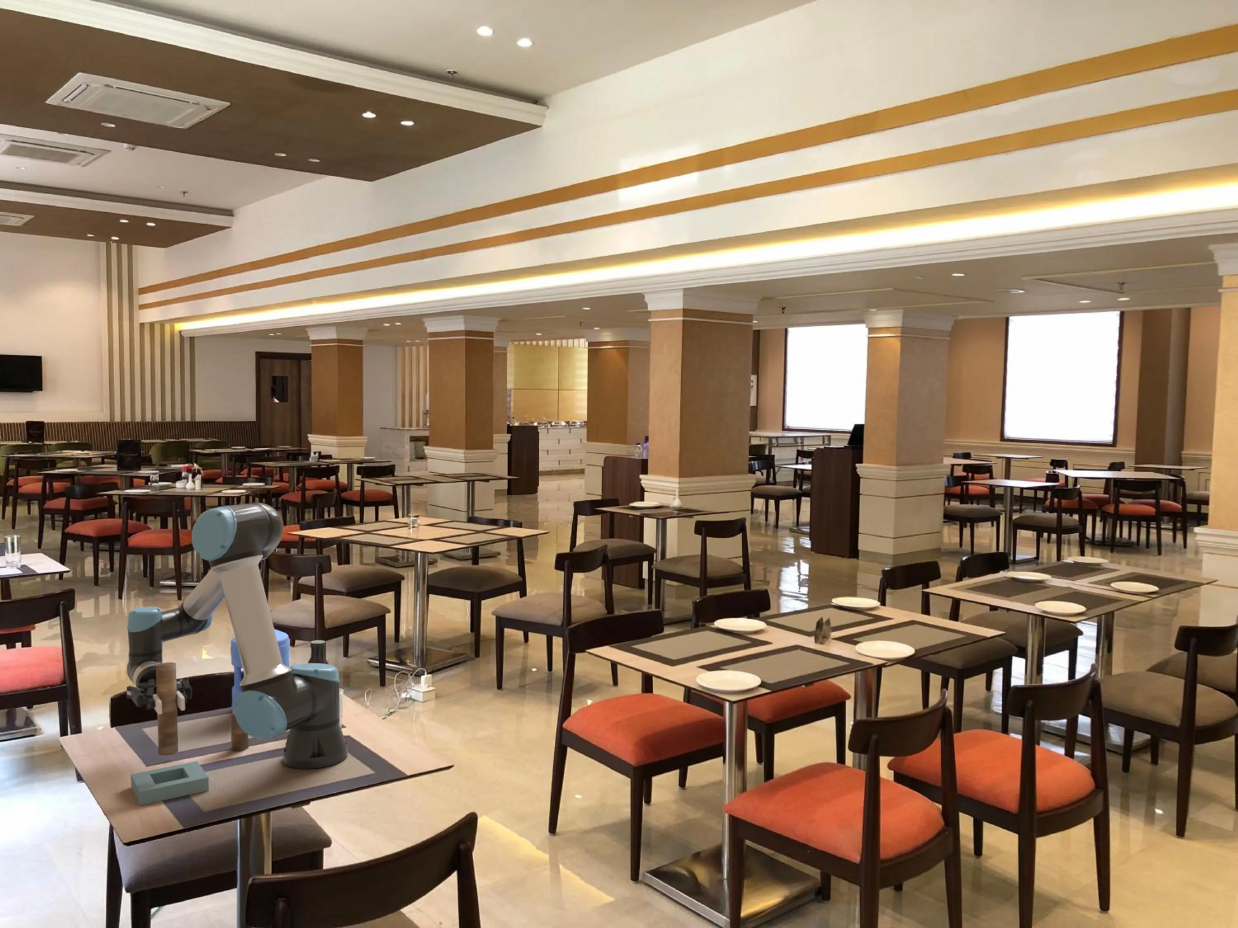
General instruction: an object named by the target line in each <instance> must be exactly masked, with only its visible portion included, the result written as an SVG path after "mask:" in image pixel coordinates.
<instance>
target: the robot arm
mask: <svg viewBox="0 0 1238 928" xmlns="http://www.w3.org/2000/svg"><path fill="white" fill-rule="evenodd" d="M284 528H285V527H284V522H283V518H282V516H281V515H280V513H279V512H278V511H277V510H276V509H275V508H274V507H273V506H271V505H269V504H266V503H263V502H250V503H249V502H248V503H243V504H232V505H223V506H218V507H214V508H211V509H207V510H205V511H203V512H202V513H201V514H200V515H199V516H198V517H197V519H196V521H195V523H194V524H193V526H192V531H191V543H192V547H193V550H194V551H195V553H196V554H197V555H199V557H200V558H201V559H203V560H205V561H208V564H209V566H210V567H209V568H210V570H209V571H208V572H207V574H206V575H204V577H202V579H201V581H200V582H199V583H198V584H197V585H196V586H195V588H194V589H193V590H192V591H191V592H190V593H189V595H188V596H187V597H186V598H185V599H184V600H183V602H181V604H180V605H179V606H178V607H175V608H172V609H169V610H168V609H167V610H165V611H163V610H162V609H161V608H160V607H158V606H142V607H141V606H139V607H135V608H133V609H131V610H130V611H129V612H128V615H127V637H128V638H127V639H128V661H127V664H126V675H127V676H128V678H129V680H130V681H131V682H132V684H133V685H134V686H132V685H128V686H126V698H127V699H131V700H132V702H133V703H134V704H135V705H136V707H137V708H143V707H144V706H145V705H146V710H147V711H148V710H149V711H151V710H155V712H156V713H158V714H162V701H161V700H160V699H159V697H158V696H157V679H156V665H158V664H161V663H164V662H163V643H165V642H169V641H173V640H175V639H179V638H183V637H187V636H192V635H197V634H200V632H201V633H202V632H204V631H206V630H208V629H209V628H210V626H211V625H212V621H213V613H214V612H216V610H217V609H218V607H220V606H221V604H222V603H223V601H225V603H226V605H227V610H228V613H229V617H230V623H231V625H232V626H231V627H232V630H233V633H234V637H235V639H236V643H237V647H238V651H239V655H240V659H241V663H242V667H243V668H242V669H243V670H242V671H243V678H241V683H240V688H241V693H242V694H241V695H240V696H239V697H238V698H237V700H236V704H235V707H234V712H235V717H236V720H237V722H238V724H239V726H240V727H241V728H242V730H243V731H244V732H246V733H248V736H250V737H251V738H254V739H257V740H267V739H269V738H270V739H271V738H272V737H277V736H280V735H282V734H283V733H284V732H287V731H289V732H288V735H287V738H286V741H285V747H284V748H283V751H282V760H283V761H282V762H283V764H284V765H285V766H287V767H289V768H294V769H300V770H301V769H302V770H303V769H304V770H306V769H320V768H324V767H329V766H334V765H335V764H339V763H341V762H342V761H344V760H346V758H347V757H348V753H349V751H348V743H347V741H346V740H345V736H344V734H343V729H342V727H340V708H339V688H340V683H341V681H340V677H339V676H340V675H339V670H338V668H337V667H336V666H334V665H332V664H329V663H328V664H320V663H308V662H306V663H297V664H293V665H291V666H289V667H287V666H285V665H284V664H283V662H282V658H281V654H280V650H279V646H278V642H277V639H276V635H275V631H274V629H275V627H274V623H273V619H272V615H271V611H270V607H269V603H268V599H267V596H266V592H265V587H264V583H263V579H262V576H261V571H260V567H259V563H261V560H262V561H263V560H266V559H267V558H268V557H269V556H271V554H272V553H273V552H274V551H275V550H276V548H277V547H278V545H279V544H280V542H281V541H282V538H283V534H284ZM189 681H190V680H189V677H184V678H182V679H179V681H178V680H176V687H177V708H179V710H180V711H185V710H186V703H188V700H191V699H192V698H193V688H192V686H191V685H190V682H189Z"/></svg>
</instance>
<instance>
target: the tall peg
mask: <svg viewBox="0 0 1238 928" xmlns="http://www.w3.org/2000/svg"><path fill="white" fill-rule="evenodd" d="M156 679H157V696H158V697H159V699H160V700H161V701H162V714H158V713H157V712H156V713H157V715H156V716H157V741H158V742H157V743H158V745H157V748H158V755H160V756H171V755H174V754H177V753H178V752H179V742H178V741H179V734H178V731H179V730H178V729H179V728H178V705H177V687H176V681H177V663H175V662H173V661H171V662H170V661H169V662H163V663H161V664H158V665H156Z"/></svg>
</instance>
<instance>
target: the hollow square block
mask: <svg viewBox="0 0 1238 928" xmlns="http://www.w3.org/2000/svg"><path fill="white" fill-rule="evenodd" d="M209 778H210V777H209V776H208V774H207V773H206V772H205V770H204V769H203V767H202V766H201V765H200V762H198V760H195V761H190V762H185V763H181V764H175V765H171V766H165V767H161V768H160V767H159V768H155V769H150V770H146V771H141V772H135V773H130V785H131V786H130V787H131V790H132V792H133V793H134V796H135V798H136V800H137V802H138V805H139V806H143V805H148V804H153V803H157V802H163V801H166V800H170V799H175V798H181V797H185V796H189V795H194V794H198V793H203V792H207V791H209V790H210V787H209V785H210V783H209Z"/></svg>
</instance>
